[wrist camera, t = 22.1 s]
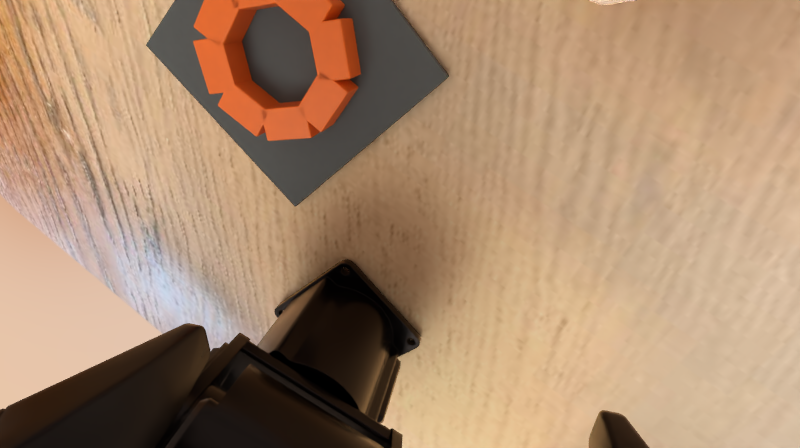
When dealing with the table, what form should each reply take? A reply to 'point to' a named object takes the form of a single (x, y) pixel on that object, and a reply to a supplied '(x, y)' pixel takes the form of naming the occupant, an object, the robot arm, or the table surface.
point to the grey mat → (309, 84)
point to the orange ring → (246, 101)
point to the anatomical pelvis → (609, 1)
